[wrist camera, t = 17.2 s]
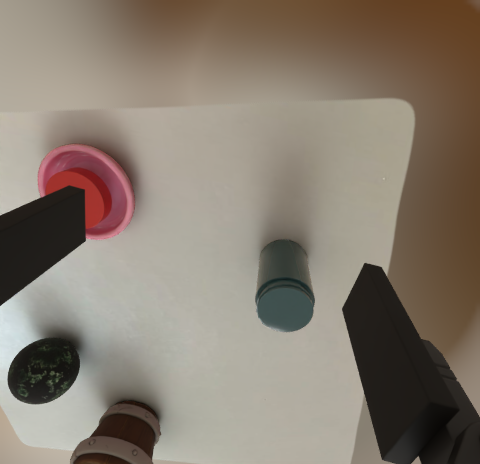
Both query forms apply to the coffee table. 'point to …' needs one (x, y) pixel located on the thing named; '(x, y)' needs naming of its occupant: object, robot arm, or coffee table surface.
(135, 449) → the flowerpot
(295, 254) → the lidded canister
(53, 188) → the jam lid
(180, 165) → the coffee table surface
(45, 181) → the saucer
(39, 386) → the decorative stone
